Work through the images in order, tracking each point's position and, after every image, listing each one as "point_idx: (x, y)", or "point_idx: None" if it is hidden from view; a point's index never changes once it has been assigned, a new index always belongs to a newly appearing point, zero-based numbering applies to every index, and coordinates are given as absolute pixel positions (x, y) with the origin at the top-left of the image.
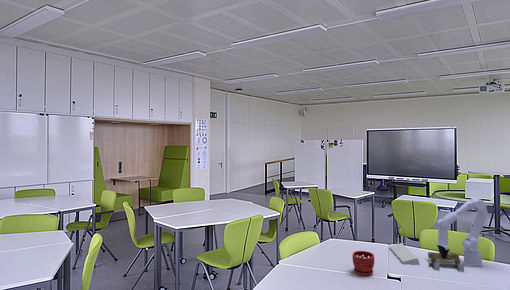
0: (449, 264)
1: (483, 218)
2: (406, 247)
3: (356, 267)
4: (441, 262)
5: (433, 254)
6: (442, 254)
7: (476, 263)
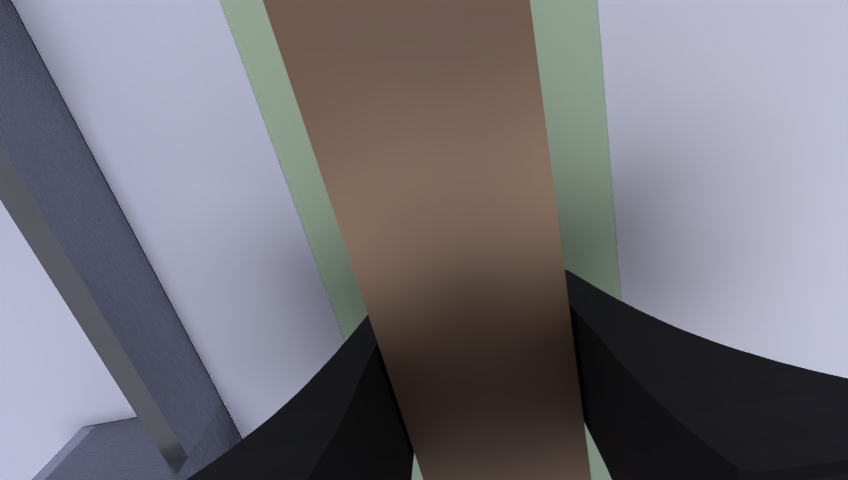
0: (112, 374)
1: None
2: None
3: None
4: None
5: (290, 55)
6: (319, 373)
7: None
